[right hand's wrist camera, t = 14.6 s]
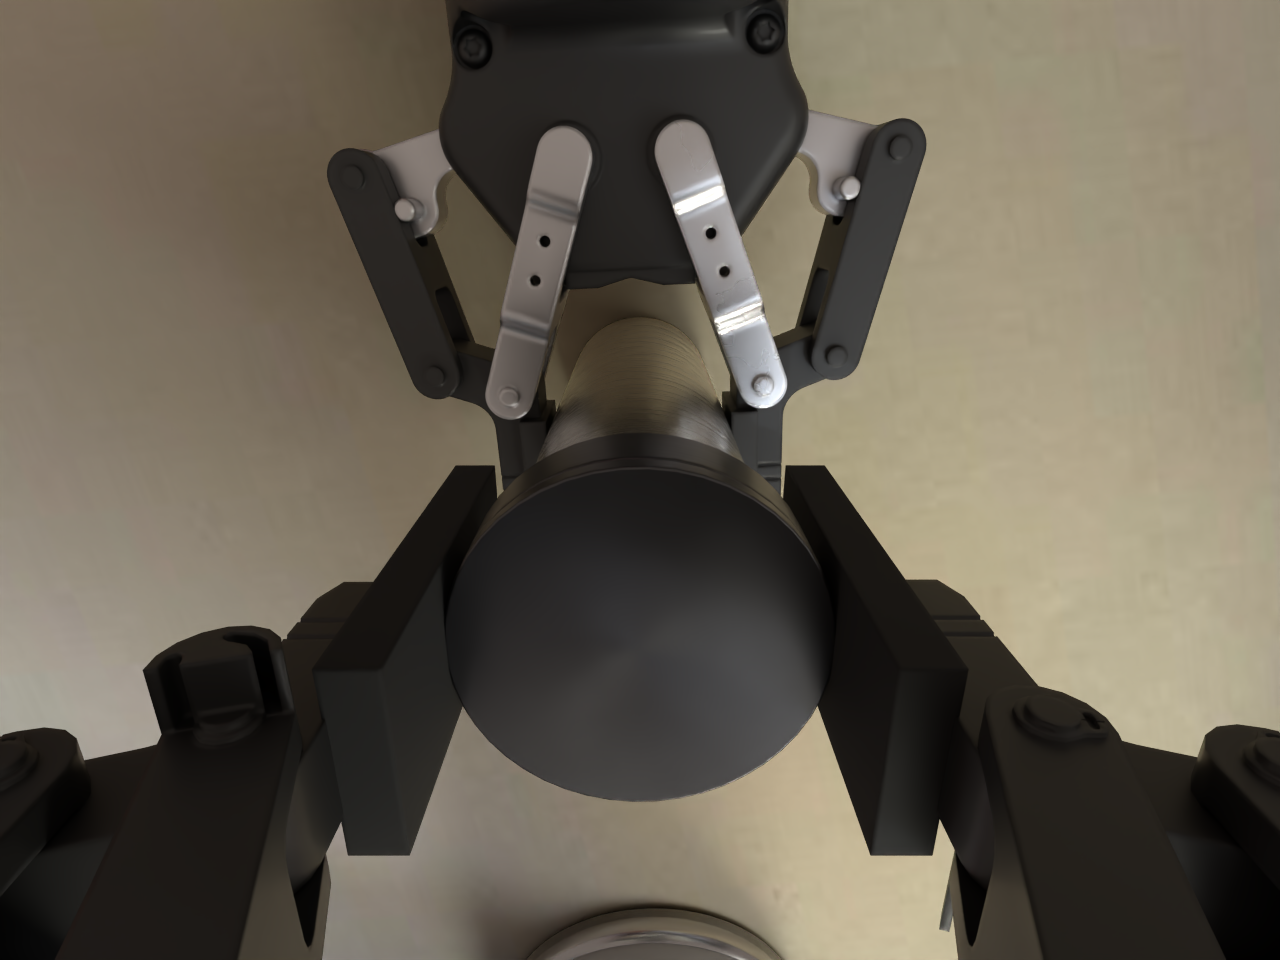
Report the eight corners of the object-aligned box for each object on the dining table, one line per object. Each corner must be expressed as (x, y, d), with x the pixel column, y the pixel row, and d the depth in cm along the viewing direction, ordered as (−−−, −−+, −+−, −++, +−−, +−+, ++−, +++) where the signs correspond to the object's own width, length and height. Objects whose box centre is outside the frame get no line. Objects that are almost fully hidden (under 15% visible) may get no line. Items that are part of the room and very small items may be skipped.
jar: (709, 441, 27) (801, 749, 12) (582, 452, 27) (507, 770, 12) (702, 310, 25) (797, 472, 10) (565, 323, 25) (453, 501, 10)
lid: (813, 722, 13) (835, 789, 11) (497, 745, 13) (479, 814, 11) (812, 414, 11) (838, 448, 9) (437, 448, 11) (405, 486, 9)
